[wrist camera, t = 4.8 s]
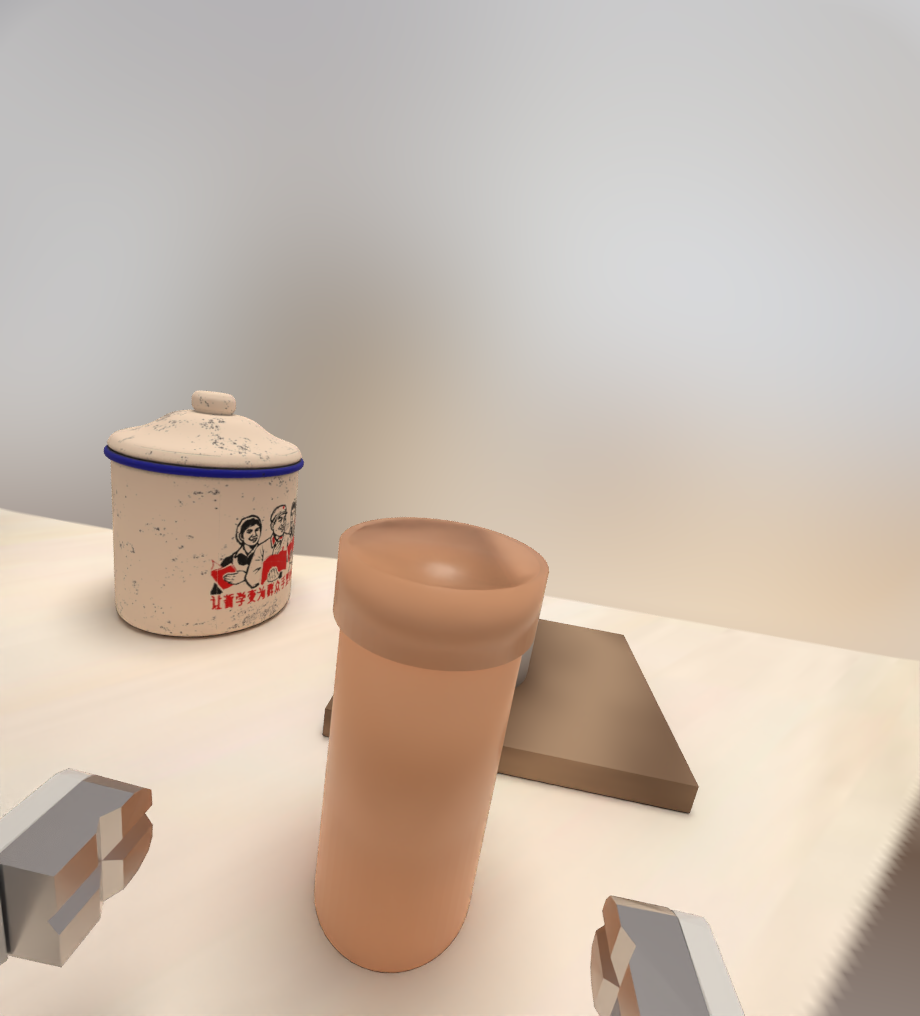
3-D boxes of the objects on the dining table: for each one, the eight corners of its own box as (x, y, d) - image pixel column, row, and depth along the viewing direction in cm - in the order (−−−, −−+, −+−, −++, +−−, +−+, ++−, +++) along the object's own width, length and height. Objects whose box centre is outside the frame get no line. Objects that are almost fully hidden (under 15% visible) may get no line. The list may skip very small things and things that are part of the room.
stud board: (322, 734, 18) (334, 613, 16) (392, 609, 28) (403, 530, 27) (689, 813, 17) (731, 691, 15) (618, 652, 27) (640, 572, 26)
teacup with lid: (235, 659, 21) (244, 407, 18) (60, 619, 22) (44, 373, 19) (336, 569, 33) (352, 406, 30) (220, 545, 34) (224, 385, 31)
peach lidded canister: (271, 956, 11) (300, 566, 8) (343, 789, 15) (374, 507, 13) (470, 1006, 10) (560, 615, 8) (482, 819, 15) (541, 537, 13)
